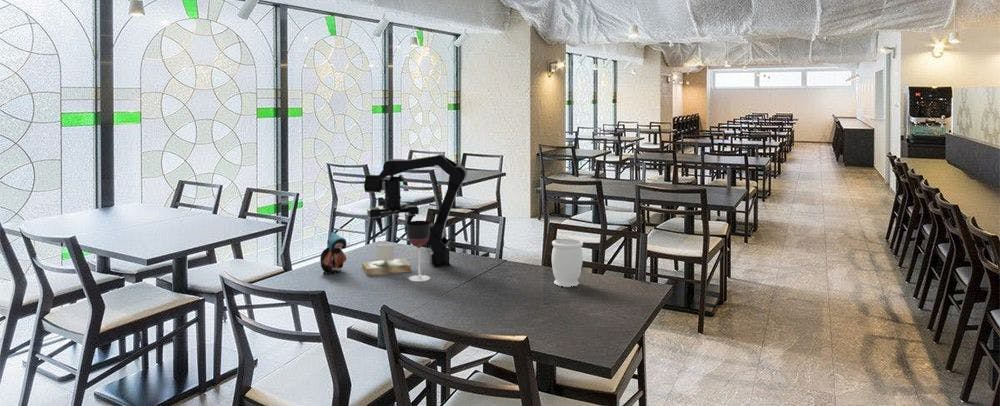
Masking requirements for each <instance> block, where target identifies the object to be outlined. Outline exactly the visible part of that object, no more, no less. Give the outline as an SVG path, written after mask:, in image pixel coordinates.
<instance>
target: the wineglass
mask: <svg viewBox="0 0 1000 406" xmlns="http://www.w3.org/2000/svg"><path fill="white" fill-rule="evenodd" d="M430 224H431V222H430V221H427V220H411V222H408V223H407V232H406V234H407V238H408V241H409V243H410V244H411V245H413V246H414V247H416V248H417V269H418V271H417V272H418V275H412V276H409V277H408V279H409V281H412V282H426V281H428V280H430V279H431V277H430V276H428V275H425V274H424V275H422V274H421V248H422V247H423V246H425V245H426V244H428V243H427V241H428V239H429V235H430Z"/></svg>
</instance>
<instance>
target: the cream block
mask: <svg viewBox="0 0 1000 406" xmlns="http://www.w3.org/2000/svg"><path fill="white" fill-rule="evenodd" d="M376 259H377V260H376V261H382V260H384V263H383V264H382V265H381V266H384V265H385V264H386V263H388V260H394V259H395V244H385V243H384V244H383V243H382V244H381V243H378V244H376Z"/></svg>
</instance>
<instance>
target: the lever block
mask: <svg viewBox="0 0 1000 406" xmlns="http://www.w3.org/2000/svg"><path fill="white" fill-rule="evenodd" d="M383 263H384V260H373V261H363V262H361V269H362V271H363V272H364V274H365V275H366V276H367V277H370V276H379V275H381V276H382V275H389V274H391V275H392V274H398V273H407V272H408V273H410V272H412V271H411V268H412V267H411V264H410V262H408V261H407V260H406V259H405V258H404V257H403V258H394V260H388V263H386V264H385V265H384V266H381V265H382V264H383Z"/></svg>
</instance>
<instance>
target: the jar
mask: <svg viewBox="0 0 1000 406" xmlns="http://www.w3.org/2000/svg"><path fill="white" fill-rule="evenodd" d="M551 245H552V246H553V248H552V251H551V266H552V274H553V276H554V281H553V283H554V285H555V284H556V285H555V286H557V285H558V286H557V287H561V286H563V288H574V287H573V286H575V287H578V286H579V285H580V282H579V279H580V276H581V271H582V267H583V261H584V258H583V250H582V247H583V246H584V242H583V241H582V240H579V239H574V238H573V239H572V238H560V239H559V238H558V239H554V240H552V241H551ZM578 284H579V285H578ZM571 286H572V287H571Z"/></svg>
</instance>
